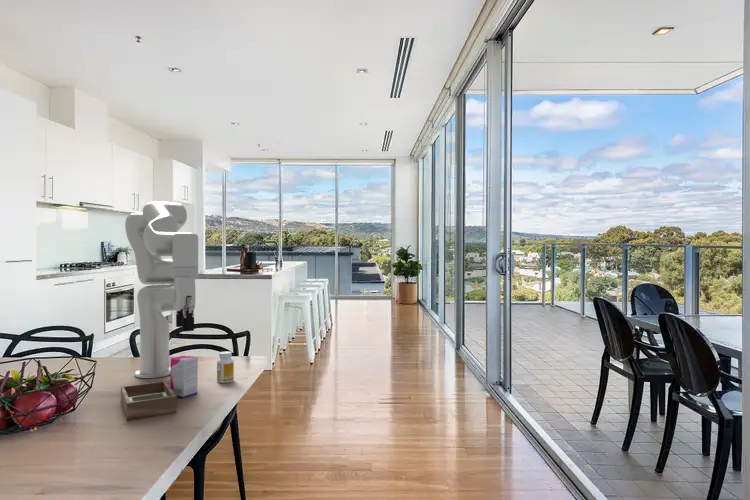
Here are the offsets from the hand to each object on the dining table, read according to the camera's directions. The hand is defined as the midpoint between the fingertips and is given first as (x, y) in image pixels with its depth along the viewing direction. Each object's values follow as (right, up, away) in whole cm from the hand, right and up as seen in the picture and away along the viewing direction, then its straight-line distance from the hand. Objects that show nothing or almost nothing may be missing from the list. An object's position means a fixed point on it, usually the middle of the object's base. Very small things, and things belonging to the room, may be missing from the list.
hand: (184, 328), depth 148 cm
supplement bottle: (+8, -21, +16) cm, 27 cm away
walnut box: (-6, -20, -12) cm, 24 cm away
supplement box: (0, -21, 0) cm, 21 cm away
